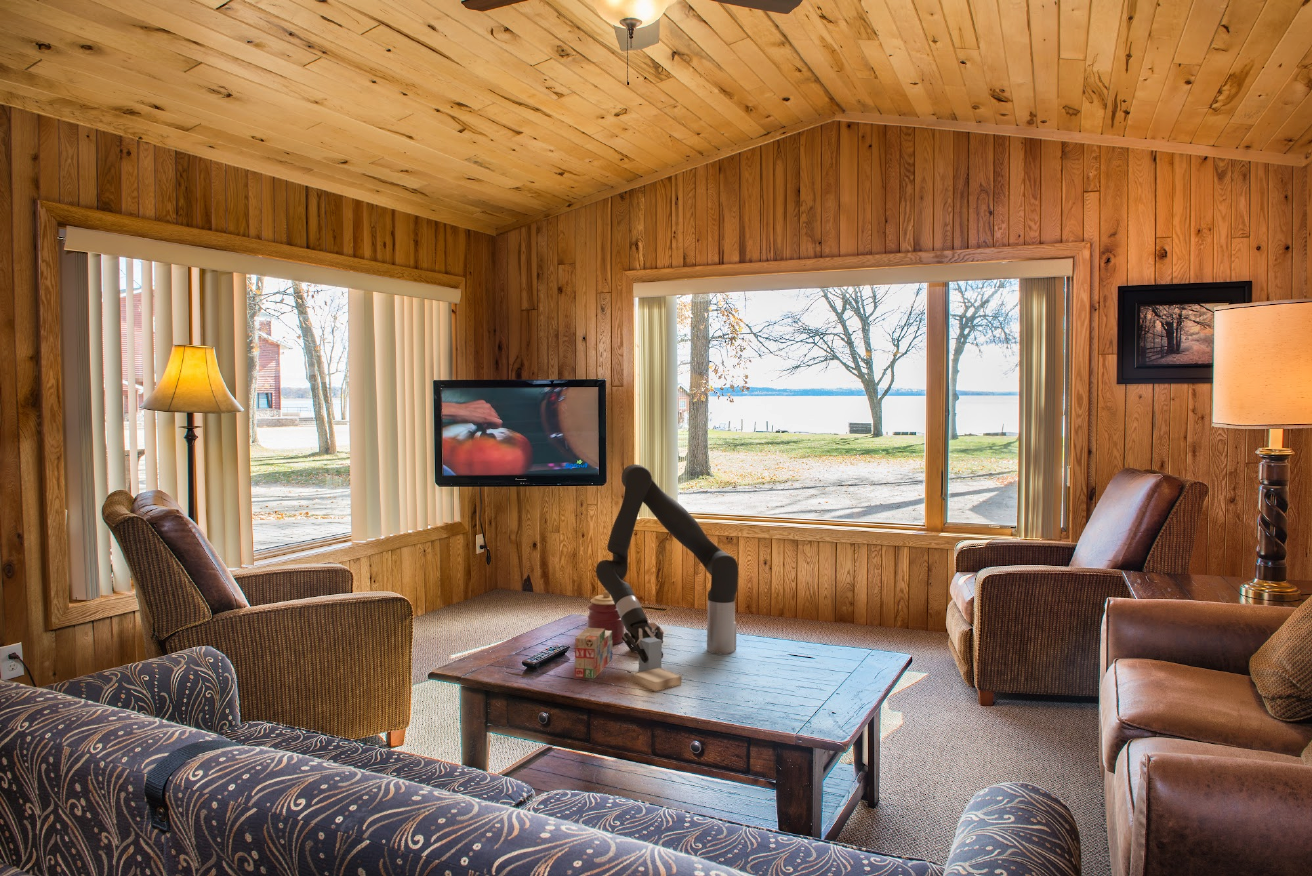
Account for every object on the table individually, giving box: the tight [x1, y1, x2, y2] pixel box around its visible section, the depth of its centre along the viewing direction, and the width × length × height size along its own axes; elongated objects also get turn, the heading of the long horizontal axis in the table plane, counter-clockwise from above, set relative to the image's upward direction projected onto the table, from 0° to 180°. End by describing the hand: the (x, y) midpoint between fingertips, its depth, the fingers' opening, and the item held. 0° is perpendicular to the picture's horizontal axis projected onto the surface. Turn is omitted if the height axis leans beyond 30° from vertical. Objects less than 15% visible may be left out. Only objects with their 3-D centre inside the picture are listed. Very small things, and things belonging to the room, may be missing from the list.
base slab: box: [633, 667, 682, 692], centre depth 247 cm, size 10×10×3 cm
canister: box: [587, 590, 625, 646], centre depth 292 cm, size 13×13×18 cm
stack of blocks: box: [574, 627, 613, 680], centre depth 261 cm, size 21×6×12 cm, turn 168°
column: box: [638, 637, 663, 673], centre depth 257 cm, size 5×5×10 cm
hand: (653, 659), depth 256 cm, fingers closed on column, 5 cm apart
